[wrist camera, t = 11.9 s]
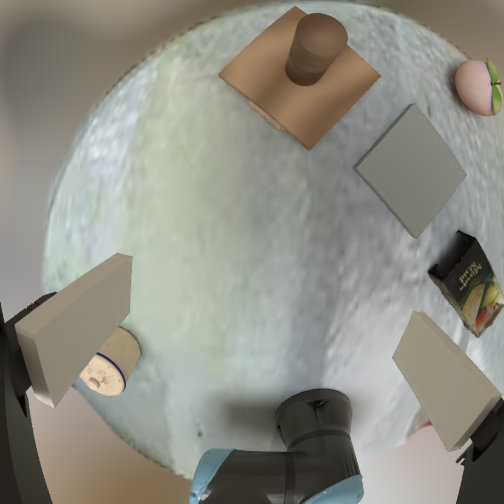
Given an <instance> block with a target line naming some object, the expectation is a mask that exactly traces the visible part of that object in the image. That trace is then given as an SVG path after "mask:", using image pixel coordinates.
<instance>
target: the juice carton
mask: <svg viewBox="0 0 504 504" xmlns="http://www.w3.org/2000/svg"><path fill="white" fill-rule="evenodd" d="M457 232H460V233H461V235H462V237H463V238H464V240H465V242H466V243H467V245H468V248H467V250H466V252H465V253H464V255H463V256H462V258H461V259H460V260H461V262H460V263H458V264H454V267H453V268H452V270H451V271H450V272H449V273H448V274H447V275H441V274H440V273H439V272H438V270H437V268H438V264H436V265H435V266H434V267H433V268H432V269H431V270H430V271H428V274H429V276H430V278H431V279H432V280H433V282H434V283H435V284H436V285H437V286H438V287H439V288H440V290H441V292H442V294H443V295H444V297H446V299H447V300H448V301H449V304H451V305H452V306H453V307H454V309H455V310H456V312H457V313H458V315H459V317H460V318H461V319H462V321H463V324H464V326H465V328H466V329H467V330H471V333H472V334H474V335H475V336H476V337H477V338H479V337H480V336H481V335H482V334H484V332H485V331H486V330H487V328H488V327H489V326H491V325H492V324H493V322H494V321H495V320H496V319H495V318H496V317H497V316H498V314H499V313H500V312H501V310H502V308H503V307H504V297H503V294H502V291H501V289H500V286H499V284H498V281H497V279H496V276H495V274H494V271H493V269H492V267H491V265H490V262H489V261H488V259H487V257H486V255H485V253H484V251H483V249H482V247H481V246H480V244H479V242H478V241H477V239H476V238H475V237H472V236H470V235H468V234H465V233H463V232H461V231H457ZM457 232H456V233H457Z"/></svg>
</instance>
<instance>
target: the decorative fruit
mask: <svg viewBox="0 0 504 504" xmlns="http://www.w3.org/2000/svg"><path fill="white" fill-rule="evenodd" d="M486 59H487V63H486V62H484V61H480V60H468V61H466V62H464V63H462V64H461V65H460V67H459V68H458V70H457V72H456V75H455V84H456V89H457V92H458V94H459V96H460V98H461V100H462V101H463V103H464V104H465V105H466V106H467V107H468V108H469V109H471V110H472V111H474V112H475V113H477V114H480V115H483V116H492V115H494V116H495V115H496V114H497V113H498V112H499V111H500V110H501V109H502V106H503V101H504V98H503V94H502V91H501V90H500V87H499V85H500V84H501V83H500V82H499V77H498V73H497V70H496V68H495V66H494V65H493V63H492V62H491V61H490V60H489V59H488V58H486Z"/></svg>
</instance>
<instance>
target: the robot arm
mask: <svg viewBox="0 0 504 504" xmlns="http://www.w3.org/2000/svg"><path fill="white" fill-rule="evenodd" d="M132 258H133V257H132V256H128V255H124V254H120V253H116V254H115V255H113V256H112V257H110V258H109V259H107V260H105V261H104V262H102V263H101V264H99V265H98V266H96V267H95V268H93V269H92V270H90V271H89V272H87V273H86V274H84V275H83V276H81V277H80V278H78V279H77V280H75V281H74V282H72V283H71V284H69V285H68V286H67V287H65V288H64V289H62V290H61V291H59V292H58V293H57V292H53V293H50V294H47V295H44V296H42V297H41V298H39V299H38V300H36V301H35V302H34V304H33V303H32V304H31V305H29V306H28V307H27V309H26V308H25V309H24V310H22V311H21V312H19V313H18V314H17V315H15V316H14V317H13V318H11V319H10V320H9V321H7V322H6V323H5V322H4V318H3V313H2V308H1V303H0V504H53V503H52V500H51V497H50V494H49V491H48V488H47V485H46V482H45V479H44V475H43V472H42V468H41V465H40V461H39V457H38V453H37V448H36V444H35V439H34V434H33V428H32V423H31V417H30V409H29V402H28V397H27V394H26V391H27V389H28V388H29V387H30V386H31V385H32V388H33V391H34V393H35V396H36V398H37V399H39V400H41V401H42V402H44V403H46V404H48V405H50V406H52V407H53V408H55V407H56V406H57V404H58V403H59V402H60V400H61V399H62V398H63V396H64V395H65V394H66V392H67V391H68V390H69V388H70V387H71V386H72V384H73V383H74V382H75V380H76V379H77V378H78V376H79V375H80V374H81V372H82V371H83V370H84V369H85V367H86V366H87V365H88V363H89V362H90V361H91V360H92V358H93V357H94V356H95V355H96V353H97V352H98V351H99V349H100V348H101V347H102V346H103V344H104V343H105V342H106V341H107V340H108V338H109V337H110V336H111V335H112V333H113V332H114V331H115V330H116V329H117V327H118V326H119V325H120V324H121V322H122V321H123V320H124V319H125V318H126V316H127V315H128V314H129V313H130V294H131V273H132ZM392 359H393V360H394V362H395V363H396V365H397V366H398V368H399V370H400V371H401V373H402V374H403V376H404V378H405V379H406V381H407V382H408V384H409V386H410V387H411V389H412V391H413V392H414V394H415V396H416V397H417V399H418V401H419V402H420V404H421V406H422V407H423V409H424V411H425V412H426V414H427V416H428V418H429V419H430V421H431V423H432V425H433V426H434V428H435V430H436V432H437V433H438V435H439V437H440V439H441V440H442V442H443V444H444V446H445V448H446V450H447V452H450V451H454V450H457V449H460V448H461V447H462V446H463V445H464V444H465V443H466V442H467V441H468V439H469V438H471V440H472V444H471V445H470V446H469V447H468V448H467V449H466V450H465V451H464V453H463V454H462V455H461V456H460V457H459V458H458V459H457V461H456V463H458V462H459V461H460V460H461V459H462V458H466V459H465V460H464V461H463V462H462V463H461V465H463V466H464V472H463V476H462V481H461V486H460V490H459V494H458V498H457V502H456V504H504V400H503V399H502V398H501V396H502V394H501V393H500V392H499V391H498V389H497V388H496V387H495V386H494V385H493V384H492V382H491V381H490V380H489V379H488V378H487V377H486V376H485V375H484V373H483V372H482V371H481V370H480V369H479V368H478V367H477V366H476V365H475V364H474V363H473V361H472V360H471V359H470V358H469V357H468V356H467V355H466V354H465V353H464V352H463V351H462V350H461V349H460V348H459V347H458V346H457V345H456V344H455V343H454V341H453V340H452V339H451V338H450V337H449V336H448V335H447V334H446V333H445V332H444V331H443V330H442V329H441V328H440V327H439V326H438V325H437V324H436V323H435V322H434V321H433V320H432V319H431V318H429V317H428V316H427V315H426V314H425V313H422V312H416V311H413V314H412V316H411V318H410V321H409V323H408V325H407V327H406V330H405V332H404V334H403V336H402V338H401V341H400V343H399V345H398V347H397V349H396V351H395V353H394V355H393V357H392ZM351 418H352V408H351V405H350V402H349V400H348V398H347V397H346V396H345V395H344V394H342V393H340V392H338V391H334V390H328V389H317V390H310V391H306V392H303V393H300V394H297V395H295V396H293V397H291V398H289V399H288V400H286V401H285V402H284V403H283V404H282V405H281V406H280V407H279V408H278V410H277V412H276V428H277V431H278V433H279V435H280V437H281V438H282V440H283V442H284V444H285V446H286V448H287V452H267V451H245V450H236V449H210V450H208V451H206V452H205V453H204V454H203V456H202V457H201V459H200V461H199V463H198V466H197V468H196V471H195V474H194V478H193V481H192V486H191V493H190V498H189V503H190V504H358V503H359V502H360V501H361V499H362V497H363V494H364V490H363V483H362V475H361V474H360V470H359V466H358V463H357V459H356V455H355V452H354V448H353V445H352V442H351V438H350V429H351Z"/></svg>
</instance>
